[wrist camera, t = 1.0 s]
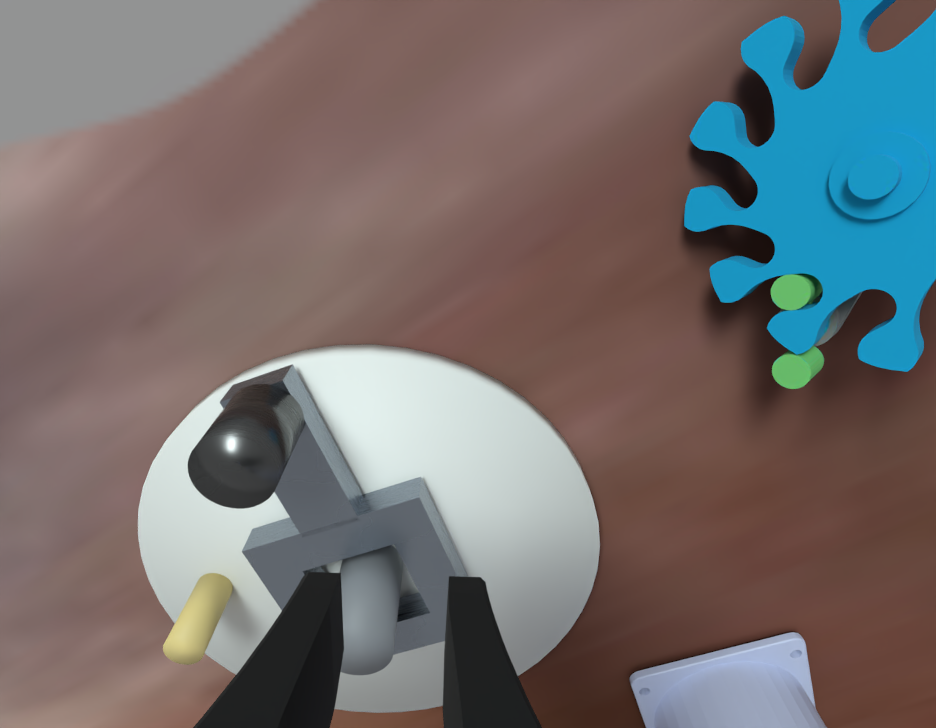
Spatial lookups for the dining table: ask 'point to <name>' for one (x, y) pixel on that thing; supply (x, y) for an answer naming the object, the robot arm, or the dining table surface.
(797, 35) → the gear
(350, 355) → the base plate
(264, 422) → the crank handle
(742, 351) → the dining table surface
